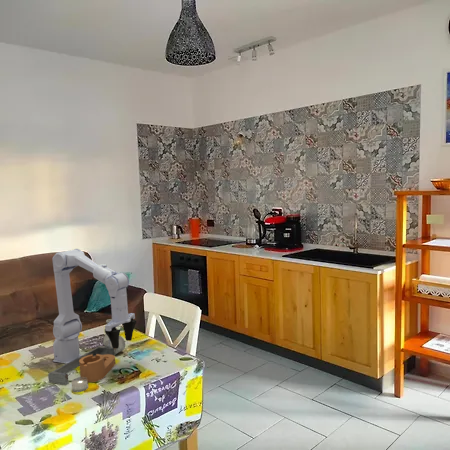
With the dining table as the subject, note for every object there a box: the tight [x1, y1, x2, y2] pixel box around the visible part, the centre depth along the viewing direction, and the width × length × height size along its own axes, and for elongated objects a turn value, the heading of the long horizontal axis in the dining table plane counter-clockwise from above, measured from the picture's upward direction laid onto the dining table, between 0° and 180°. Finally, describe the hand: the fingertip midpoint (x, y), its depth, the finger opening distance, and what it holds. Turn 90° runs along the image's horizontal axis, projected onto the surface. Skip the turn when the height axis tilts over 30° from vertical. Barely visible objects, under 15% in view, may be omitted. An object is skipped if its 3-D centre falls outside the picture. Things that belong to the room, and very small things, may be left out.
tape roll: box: [71, 376, 89, 393], centre depth 136 cm, size 5×5×3 cm
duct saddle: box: [47, 335, 126, 386], centre depth 154 cm, size 10×30×7 cm, turn 156°
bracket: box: [79, 354, 117, 384], centre depth 149 cm, size 18×8×7 cm, turn 174°
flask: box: [102, 318, 112, 345], centre depth 178 cm, size 7×7×10 cm
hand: (122, 343), depth 148 cm, fingers open, 7 cm apart
